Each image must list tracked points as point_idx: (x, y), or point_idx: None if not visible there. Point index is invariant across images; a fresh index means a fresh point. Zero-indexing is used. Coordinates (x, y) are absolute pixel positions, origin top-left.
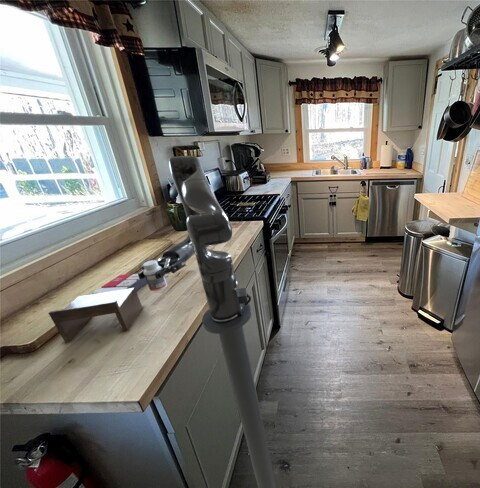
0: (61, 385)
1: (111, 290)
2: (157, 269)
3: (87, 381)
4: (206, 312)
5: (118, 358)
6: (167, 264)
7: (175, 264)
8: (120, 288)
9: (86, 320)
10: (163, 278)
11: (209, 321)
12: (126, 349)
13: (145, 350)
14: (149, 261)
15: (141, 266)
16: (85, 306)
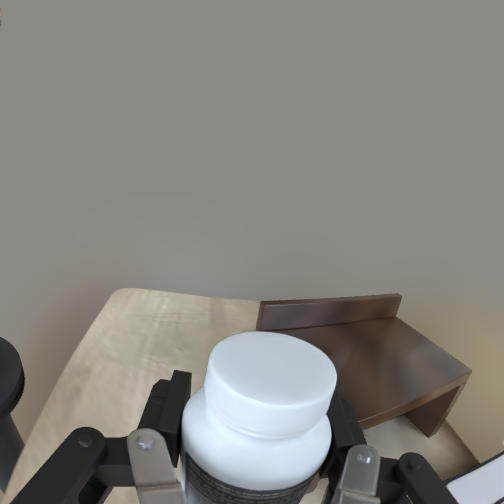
0: (252, 312)
1: (488, 477)
2: (195, 396)
3: (215, 311)
4: (5, 395)
5: (194, 334)
6: (148, 484)
7: (55, 459)
8: (477, 499)
9: (412, 417)
10: (180, 469)
11: (5, 360)
12: (193, 349)
13: (145, 340)
14: (307, 383)
15: (421, 456)
16: (337, 298)
